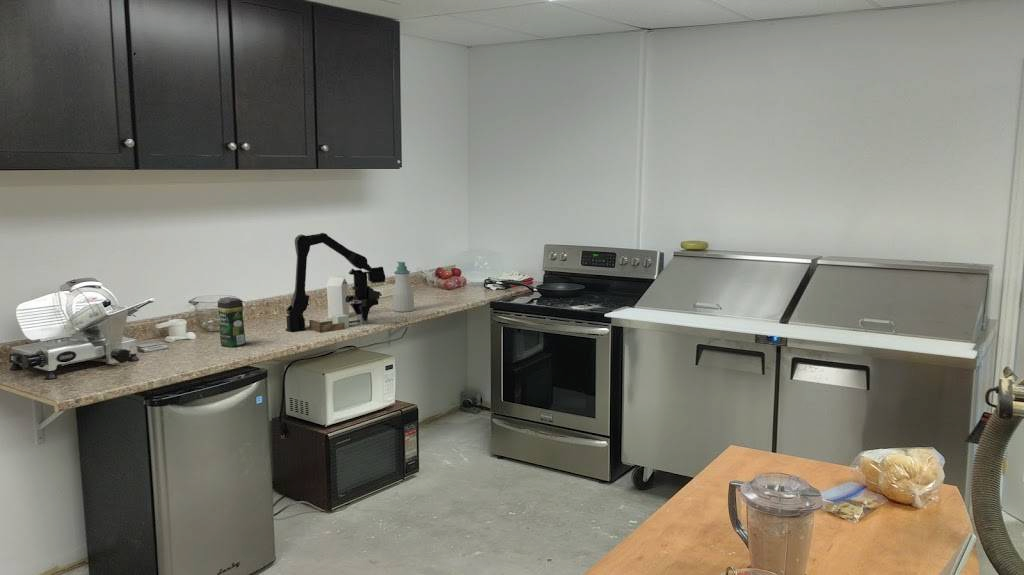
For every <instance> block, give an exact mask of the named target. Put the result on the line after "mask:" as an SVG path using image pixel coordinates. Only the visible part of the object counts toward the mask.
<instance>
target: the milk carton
mask: <svg viewBox="0 0 1024 575" xmlns="http://www.w3.org/2000/svg"><path fill="white" fill-rule="evenodd" d="M348 295H349V286H348V282H347V280H346V278H345V275H329V278H328V281H327V283H326V297H327V298H326V299H327V313H328V314H327V315H328V319H332V316H333V315H340V314H344V315H348V317H349V316H350V303H348V302H346V300H345V298H346V296H348Z"/></svg>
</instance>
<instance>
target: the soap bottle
mask: <svg viewBox="0 0 1024 575" xmlns="http://www.w3.org/2000/svg"><path fill="white" fill-rule="evenodd" d="M396 264H398V266H396V270H395V271H393V273H394V276H395V281H394V288H393V292H392V309H393V312H396V313H408V312H412V311H414V310H415V299H414V298H415V297H414V292H413V289H412V284H411V281H410V273H411V271H410V270H408V267H407V266H406V262H405V261H397V262H396Z"/></svg>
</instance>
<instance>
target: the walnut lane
mask: <svg viewBox="0 0 1024 575" xmlns="http://www.w3.org/2000/svg"><path fill="white" fill-rule="evenodd" d="M344 329H346V328H345V324H344V323H337V324H332V320H326V321H318V320H314V319H309V330H310V331H314V332H317V333H327V332H331V331H332V332H333V331H338V330H344Z"/></svg>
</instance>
